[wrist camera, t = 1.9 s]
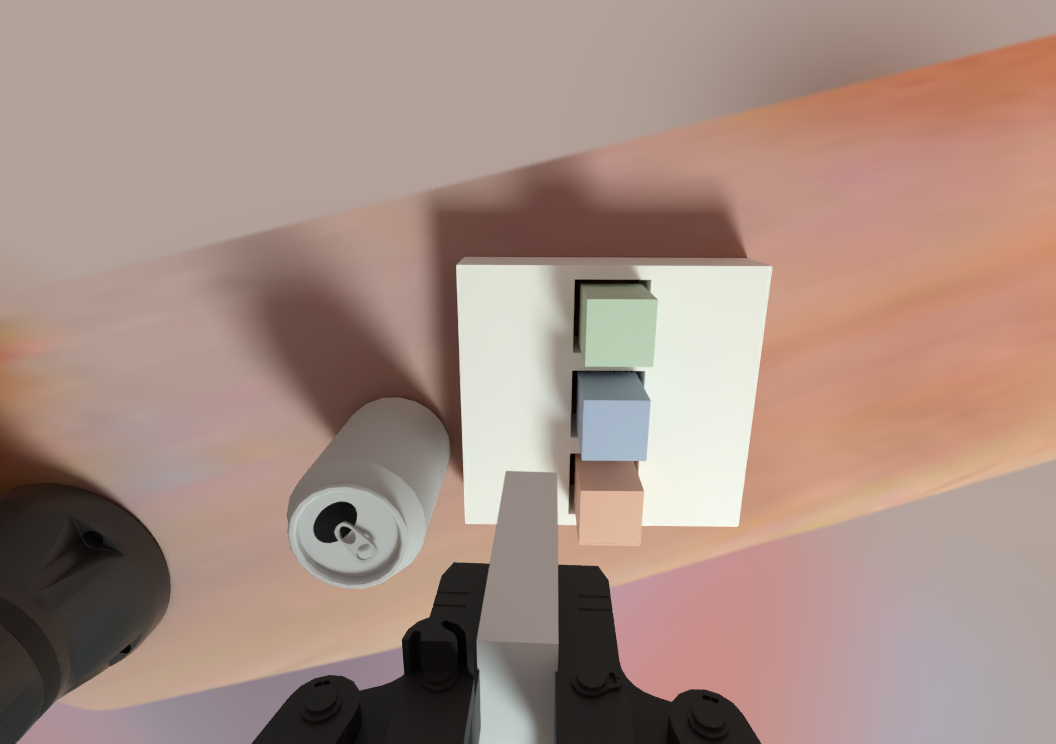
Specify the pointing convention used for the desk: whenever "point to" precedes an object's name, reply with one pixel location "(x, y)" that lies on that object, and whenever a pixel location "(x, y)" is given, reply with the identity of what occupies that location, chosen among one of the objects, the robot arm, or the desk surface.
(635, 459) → the slate button
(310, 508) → the can
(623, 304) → the sage button
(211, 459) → the desk surface
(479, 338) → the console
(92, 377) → the desk surface
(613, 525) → the terracotta button
